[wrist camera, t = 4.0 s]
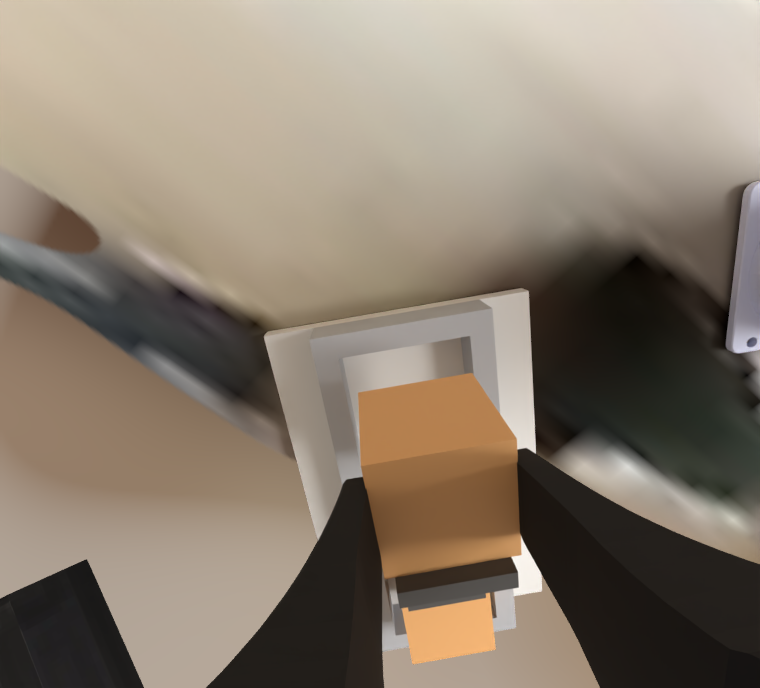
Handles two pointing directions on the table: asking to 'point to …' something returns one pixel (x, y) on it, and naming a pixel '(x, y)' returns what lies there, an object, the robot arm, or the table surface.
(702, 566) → the robot arm
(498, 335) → the grey frame base
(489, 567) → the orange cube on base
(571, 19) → the table surface
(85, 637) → the dark thin upright piece
